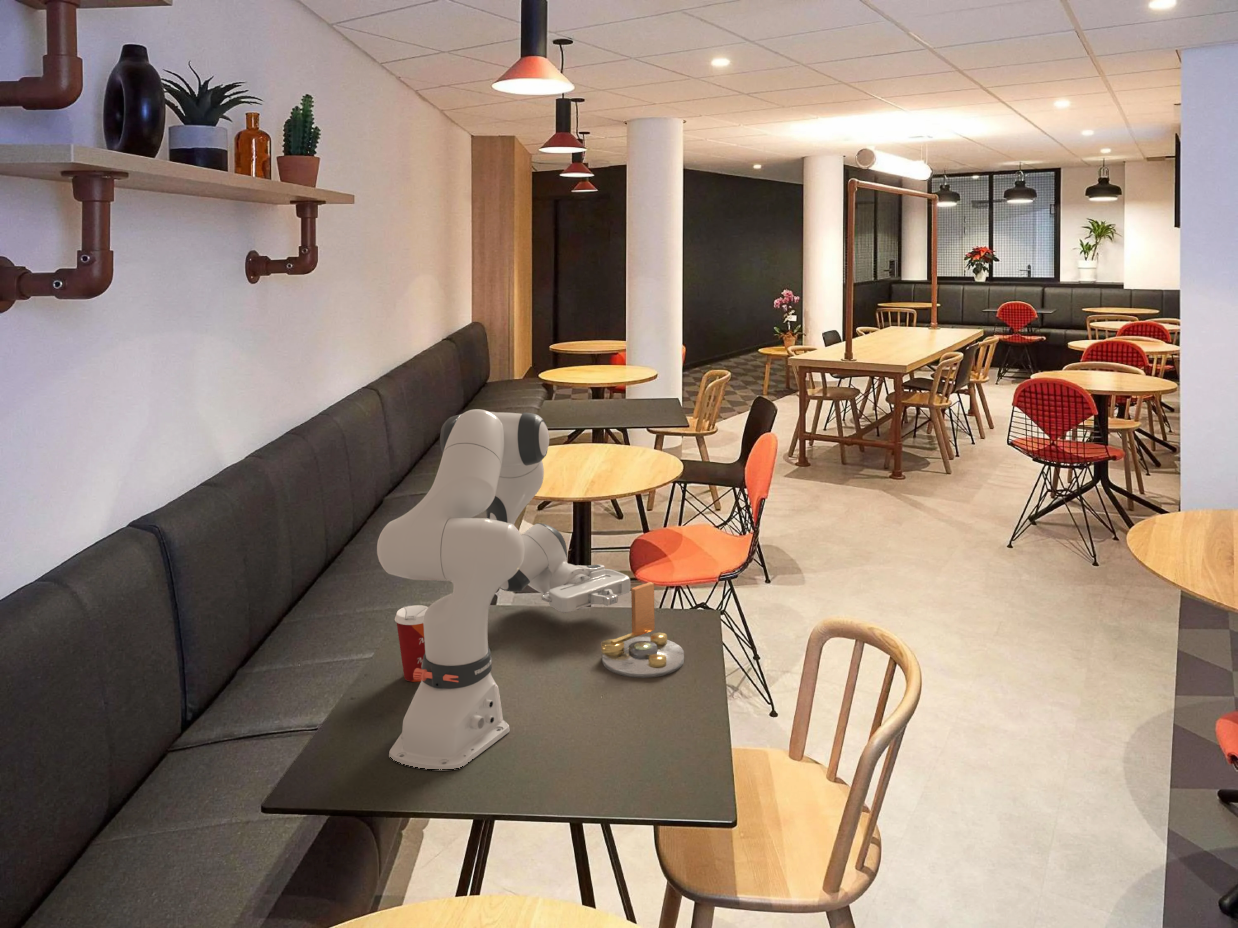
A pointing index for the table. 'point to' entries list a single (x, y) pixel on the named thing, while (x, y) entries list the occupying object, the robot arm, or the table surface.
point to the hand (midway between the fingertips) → (613, 600)
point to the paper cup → (411, 638)
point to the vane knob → (635, 619)
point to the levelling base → (646, 657)
